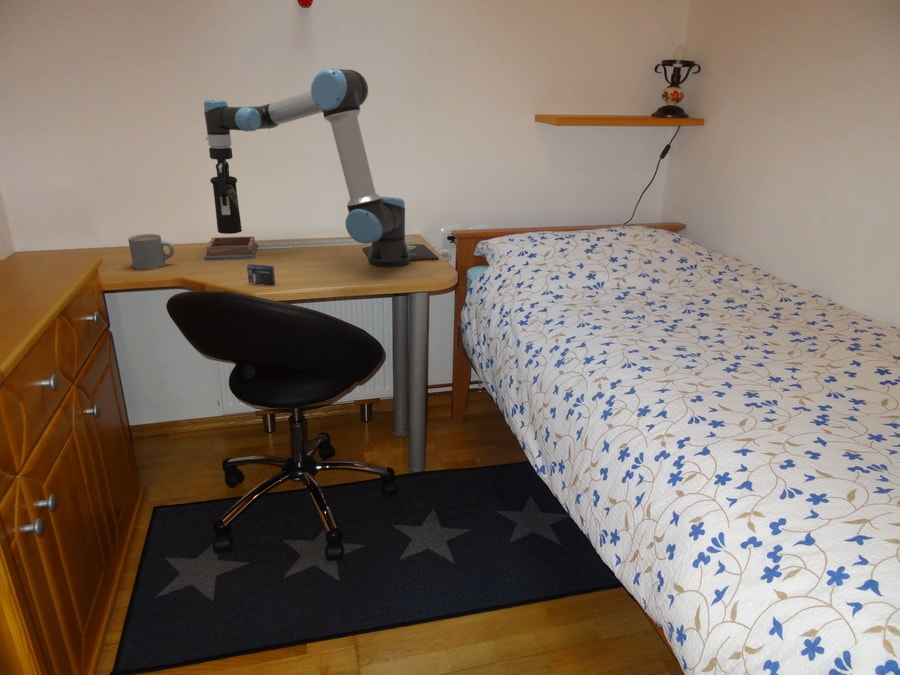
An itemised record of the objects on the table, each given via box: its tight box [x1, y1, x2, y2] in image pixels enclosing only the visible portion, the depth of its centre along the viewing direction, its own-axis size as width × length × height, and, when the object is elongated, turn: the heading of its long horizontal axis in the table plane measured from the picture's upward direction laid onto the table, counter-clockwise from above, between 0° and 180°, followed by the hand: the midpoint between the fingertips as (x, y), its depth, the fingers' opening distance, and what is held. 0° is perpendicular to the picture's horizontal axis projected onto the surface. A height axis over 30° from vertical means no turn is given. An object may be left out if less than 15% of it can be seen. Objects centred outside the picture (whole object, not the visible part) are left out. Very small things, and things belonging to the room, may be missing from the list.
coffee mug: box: [128, 233, 175, 270], centre depth 210 cm, size 13×10×10 cm
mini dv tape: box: [246, 263, 276, 286], centre depth 195 cm, size 8×2×6 cm, turn 80°
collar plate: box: [203, 236, 259, 261], centre depth 229 cm, size 20×17×4 cm
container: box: [209, 175, 243, 235], centre depth 223 cm, size 9×9×20 cm
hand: (227, 212), depth 224 cm, fingers closed on container, 8 cm apart
